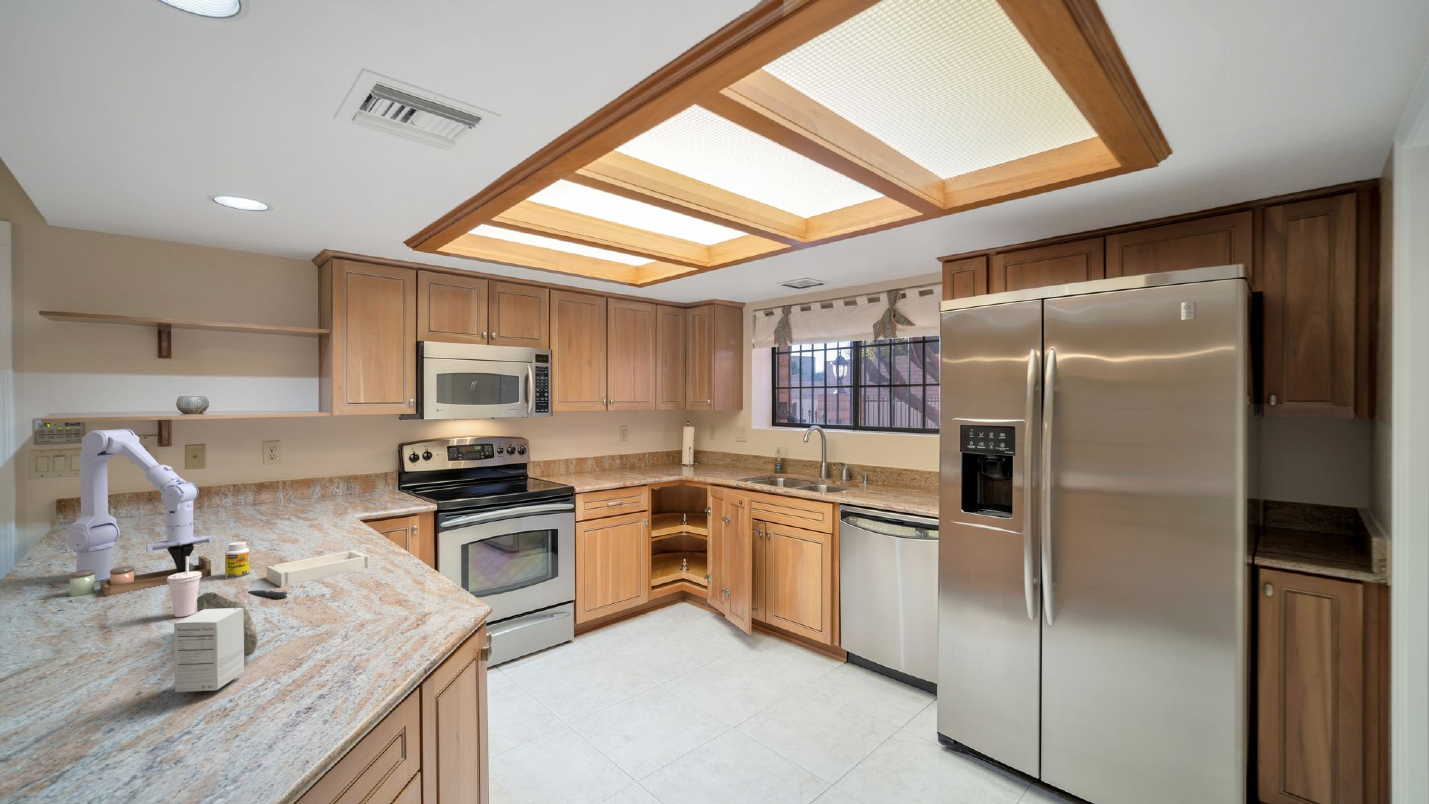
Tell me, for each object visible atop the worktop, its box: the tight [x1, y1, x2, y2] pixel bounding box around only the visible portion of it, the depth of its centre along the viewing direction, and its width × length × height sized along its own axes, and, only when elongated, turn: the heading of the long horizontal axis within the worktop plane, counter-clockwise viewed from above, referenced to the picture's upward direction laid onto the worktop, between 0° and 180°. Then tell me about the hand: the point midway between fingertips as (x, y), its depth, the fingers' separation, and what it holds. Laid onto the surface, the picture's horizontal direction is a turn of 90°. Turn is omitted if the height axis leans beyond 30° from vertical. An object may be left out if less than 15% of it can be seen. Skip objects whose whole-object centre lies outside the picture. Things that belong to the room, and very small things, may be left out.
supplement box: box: [173, 608, 245, 693], centre depth 110 cm, size 7×7×13 cm
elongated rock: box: [196, 591, 259, 657], centre depth 127 cm, size 35×5×10 cm, turn 55°
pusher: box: [184, 562, 195, 572], centre depth 175 cm, size 6×2×4 cm, turn 53°
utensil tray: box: [266, 549, 371, 588], centre depth 178 cm, size 12×23×4 cm, turn 143°
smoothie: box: [167, 556, 202, 618], centre depth 145 cm, size 6×6×14 cm
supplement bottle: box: [224, 541, 250, 580], centre depth 175 cm, size 6×6×10 cm
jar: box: [68, 570, 96, 598], centre depth 160 cm, size 5×5×6 cm
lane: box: [99, 555, 212, 598], centre depth 169 cm, size 9×22×5 cm, turn 143°
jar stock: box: [109, 565, 135, 586], centre depth 163 cm, size 5×5×6 cm
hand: (180, 571), depth 173 cm, fingers closed
